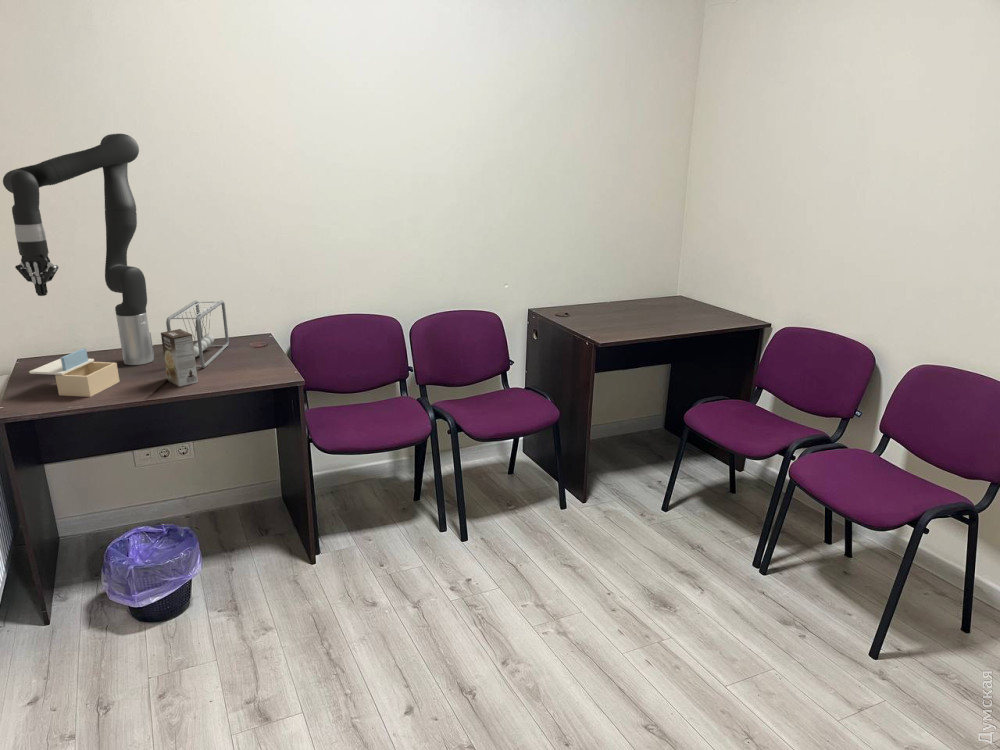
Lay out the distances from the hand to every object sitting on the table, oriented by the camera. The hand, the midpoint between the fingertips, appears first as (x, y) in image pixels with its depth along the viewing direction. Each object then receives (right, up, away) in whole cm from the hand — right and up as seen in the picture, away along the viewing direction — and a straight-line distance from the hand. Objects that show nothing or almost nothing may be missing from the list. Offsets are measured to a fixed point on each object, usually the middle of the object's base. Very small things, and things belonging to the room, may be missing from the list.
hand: (42, 295), depth 218 cm
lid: (+9, -22, -4) cm, 24 cm away
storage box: (+17, -30, -3) cm, 34 cm away
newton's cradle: (+36, -18, +33) cm, 52 cm away
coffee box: (+41, -27, +7) cm, 49 cm away
